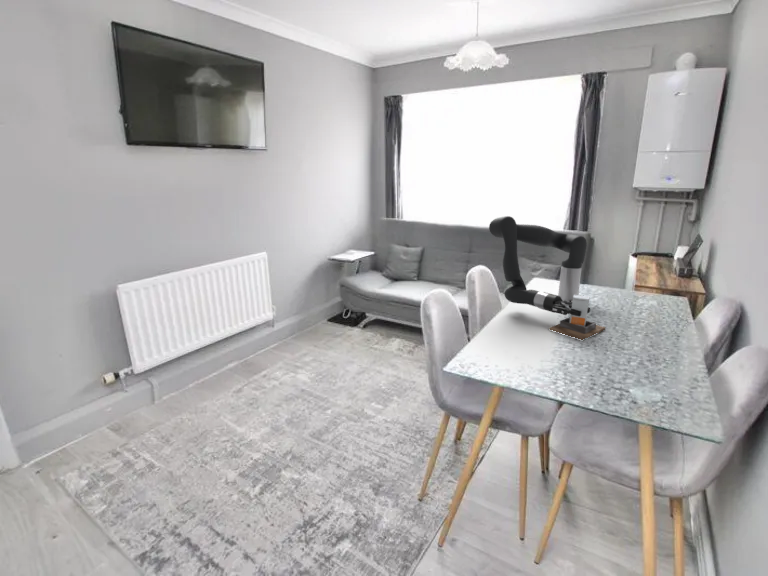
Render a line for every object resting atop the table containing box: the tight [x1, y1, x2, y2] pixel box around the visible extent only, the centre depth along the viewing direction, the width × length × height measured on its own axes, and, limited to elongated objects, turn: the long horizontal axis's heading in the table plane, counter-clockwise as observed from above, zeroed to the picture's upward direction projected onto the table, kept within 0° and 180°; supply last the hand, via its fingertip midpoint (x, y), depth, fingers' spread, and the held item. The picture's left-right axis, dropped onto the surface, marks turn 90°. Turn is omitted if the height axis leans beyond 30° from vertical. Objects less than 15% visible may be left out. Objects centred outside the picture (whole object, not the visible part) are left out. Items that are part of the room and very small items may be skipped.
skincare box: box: [569, 294, 591, 327], centre depth 161 cm, size 6×4×12 cm
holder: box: [548, 316, 606, 341], centre depth 163 cm, size 18×14×4 cm
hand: (585, 312), depth 159 cm, fingers closed on skincare box, 6 cm apart
